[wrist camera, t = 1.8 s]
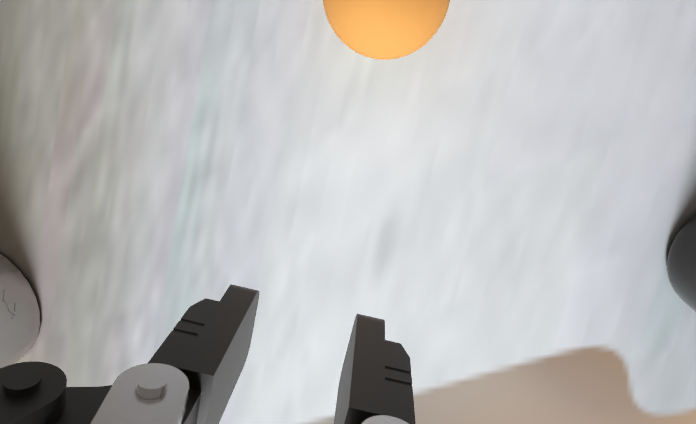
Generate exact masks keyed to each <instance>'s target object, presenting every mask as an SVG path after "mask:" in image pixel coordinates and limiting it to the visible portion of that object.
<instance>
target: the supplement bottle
mask: <svg viewBox="0 0 696 424" xmlns="http://www.w3.org/2000/svg"><path fill="white" fill-rule="evenodd" d="M667 271H668V277H669V280H670V283H671V285H672V287H673V289H674V290H675V292H676V293H677V295H678V296H679V297H680V298H681V299H682V300H683V301H684V302H685V303H686V304H688V305H689V306H690V307H691V308H692V309H693V310H694V311H695V312H696V215H694V216H693V217H692V218H691V219H690V220H688V221H687V223H686V224H685V225H684V226H683V227H682V228H681V229H680V231H679V232H678V233H677V235H676V237H675V238H674V240H673V242H672V244H671V247H670V250H669V254H668V259H667Z"/></svg>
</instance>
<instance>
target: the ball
mask: <svg viewBox="0 0 696 424" xmlns="http://www.w3.org/2000/svg"><path fill="white" fill-rule="evenodd" d="M449 1H450V0H323V4H324V9H325V13H326V16H327V18H328V21H329V23H330V25H331V27H332V29H333V30H334V32H335V33H336V35H337V36H338V37H339V38H340V39H341V41H342V42H343V43H344V44H346V45H347V46H348V47H349V48H351V49H352V50H354V51H355V52H357V53H359V54H361V55H363V56H366V57H370V58H374V59H396V58H400V57H403V56H406V55H408V54H411V53H413V52H414V51H416V50H418V49H419V48H421V47H422V46H423V45H425V44H426V43H427V42H428V41H429V40H430V39H431V38H432V37H433V35H434V34H435V33H436V32H437V30H438V29H439V27H440V26H441V24H442V22H443V20H444V18H445V16H446V13H447V10H448V6H449Z"/></svg>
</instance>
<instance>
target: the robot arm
mask: <svg viewBox="0 0 696 424" xmlns="http://www.w3.org/2000/svg"><path fill="white" fill-rule="evenodd" d="M258 299H259V291H257V290H253V289H249V288H244V287H240V286H236V285H230V286H229V288H228V289H227V291H226V293H225V294H224V296H223V297H222V299H221V300H220V302H219V301H214V300H210V299H204V300H202V301H200V302H198V303H196V304H194V305H192V306H191V307H189V309H188V310H187V311H186V313H185V314H184V315H183V317H182V318H181V321H179V322H178V323H177V325H176V326H175V327H174V330H173V331H172V332H171V333H170V334H169V336H168V337H167V338H166V340H165V341H164V342H163V344H162V345H161V346H160V348H159V349H158V350H157V352H156V353H155V354H154V356H153V357H152V358H151V360H150V361H149V362H148V364H142V365H138V366H135V367H132V368H130V369H128V370H126V371H124V372H123V373H121V374H120V375H119V376H118V377H117V379H116V380H115V381H114V383H113V385H110V386H103V387H66V382H67V379H66V375H65V374H64V372H63V371H62V370H61V369H60V368H58V367H56V366H54V365H52V364H48V363H44V362H22V363H16V362H17V361H19V360H20V359H21V358H22V357H23V356H24V355H25V354H26V353H27V352H28V351H29V350H30V349H31V348H32V346H33V344H34V343H35V341H36V339H37V337H38V332H39V327H40V311H39V307H38V303H37V300H36V297H35V295H34V293H33V290H32V288H31V286H30V284H29V283H28V281H27V280H26V279H25V277H24V276H23V275H22V273H21V272H20V271H19V270H18V269H17V268H16V267H15V266H14V265H13V264H12V263H11V262H10V261H9V260H8V259H7V258H6V257H4V256H3V255H1V254H0V424H219V421H220V419H221V417H222V415H223V412H224V410H225V408H226V405H227V403H228V401H229V399H230V396H231V394H232V392H233V390H234V387H235V385H236V383H237V380H238V378H239V376H240V374H241V371H242V369H243V367H244V364H245V361H246V358H247V355H248V351H249V347H250V343H251V338H252V332H253V327H254V321H255V316H256V310H257V305H258ZM15 363H16V364H15ZM334 424H415V414H414V401H413V390H412V378H411V367H410V357H409V356H408V354H407V353H406V351H405V350H404V348H403V347H402V345H401V344H400V343H395V342H391V341H387V340H385V321H384V320H382V319H378V318H373V317H369V316H365V315H360V314H357V315H356V318H355V321H354V325H353V329H352V333H351V337H350V341H349V344H348V348H347V352H346V356H345V360H344V364H343V368H342V372H341V377H340V382H339V389H338V396H337V404H336V411H335V419H334Z"/></svg>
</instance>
